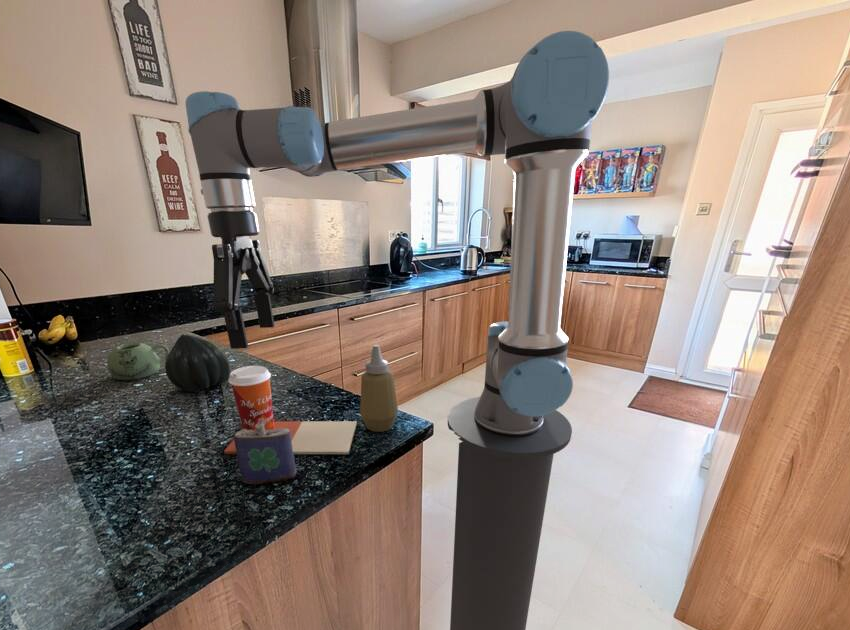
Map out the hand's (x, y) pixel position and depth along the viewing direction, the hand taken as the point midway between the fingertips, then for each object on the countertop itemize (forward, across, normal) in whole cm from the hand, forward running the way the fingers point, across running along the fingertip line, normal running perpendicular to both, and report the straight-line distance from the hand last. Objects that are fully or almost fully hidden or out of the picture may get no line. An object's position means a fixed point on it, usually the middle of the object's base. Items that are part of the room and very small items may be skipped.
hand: (254, 336), depth 72 cm
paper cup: (+21, 0, -2) cm, 21 cm away
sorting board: (+21, 0, +5) cm, 22 cm away
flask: (+22, +14, +4) cm, 26 cm away
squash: (+21, -27, -28) cm, 44 cm away
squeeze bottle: (+22, -5, +22) cm, 31 cm away
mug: (+21, -37, -51) cm, 66 cm away
